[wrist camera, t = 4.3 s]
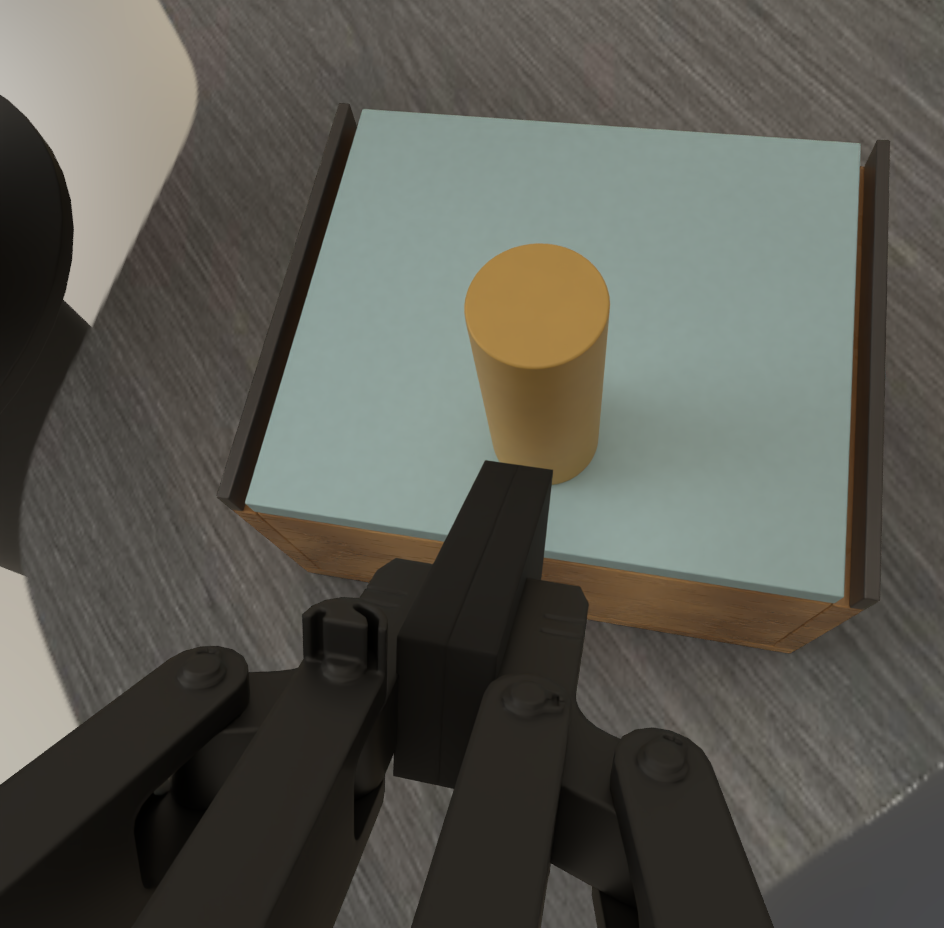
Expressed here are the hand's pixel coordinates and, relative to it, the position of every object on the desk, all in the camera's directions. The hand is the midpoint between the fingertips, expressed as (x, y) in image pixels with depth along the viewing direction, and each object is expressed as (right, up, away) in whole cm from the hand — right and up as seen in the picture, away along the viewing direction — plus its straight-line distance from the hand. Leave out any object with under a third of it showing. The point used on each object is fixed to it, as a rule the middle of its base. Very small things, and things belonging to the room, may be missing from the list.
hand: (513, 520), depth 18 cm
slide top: (+2, +5, +7) cm, 9 cm away
